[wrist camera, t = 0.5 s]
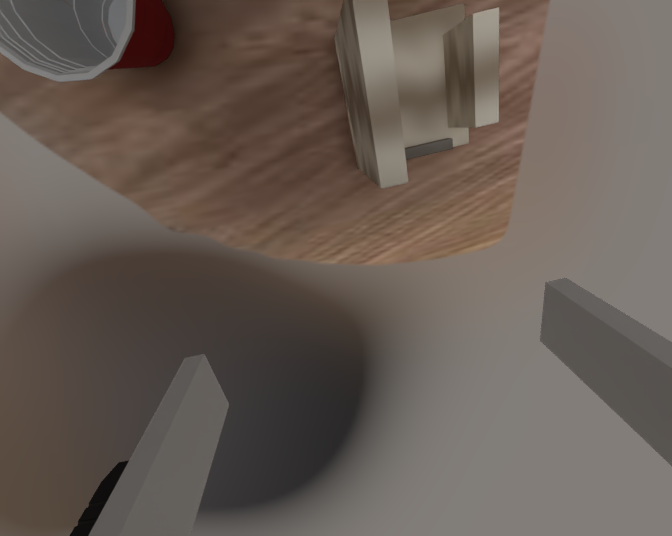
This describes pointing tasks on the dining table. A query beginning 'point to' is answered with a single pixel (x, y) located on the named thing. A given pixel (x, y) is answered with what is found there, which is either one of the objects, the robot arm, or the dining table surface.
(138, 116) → the dining table surface
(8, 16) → the plastic cup
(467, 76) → the beige u-shaped bracket
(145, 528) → the robot arm
